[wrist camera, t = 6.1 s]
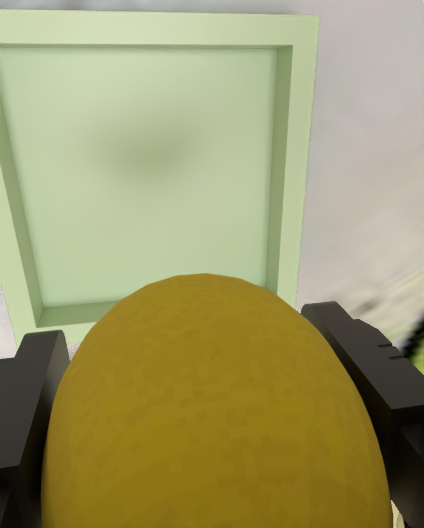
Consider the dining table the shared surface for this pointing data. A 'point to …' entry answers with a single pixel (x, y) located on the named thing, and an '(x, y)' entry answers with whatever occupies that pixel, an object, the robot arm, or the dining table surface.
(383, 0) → the dining table surface
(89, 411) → the lemon
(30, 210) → the tray
